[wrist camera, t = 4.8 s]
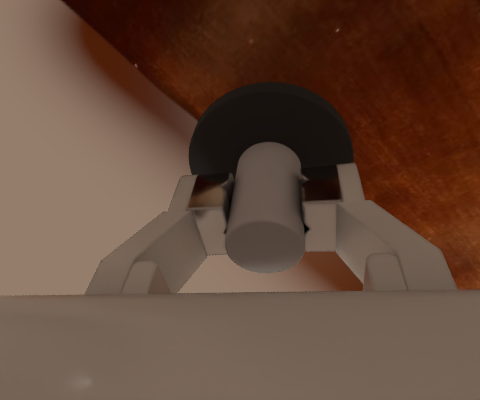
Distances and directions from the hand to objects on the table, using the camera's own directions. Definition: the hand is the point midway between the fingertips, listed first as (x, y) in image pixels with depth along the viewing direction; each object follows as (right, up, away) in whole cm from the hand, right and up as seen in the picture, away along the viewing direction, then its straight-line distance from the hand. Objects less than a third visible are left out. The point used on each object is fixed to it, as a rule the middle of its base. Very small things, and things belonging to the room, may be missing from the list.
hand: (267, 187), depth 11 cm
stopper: (0, +2, +3) cm, 4 cm away
